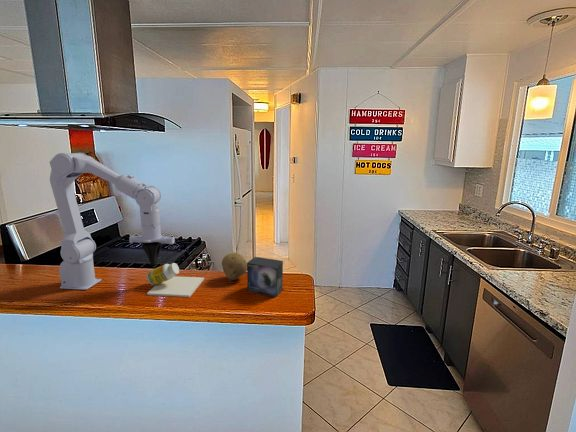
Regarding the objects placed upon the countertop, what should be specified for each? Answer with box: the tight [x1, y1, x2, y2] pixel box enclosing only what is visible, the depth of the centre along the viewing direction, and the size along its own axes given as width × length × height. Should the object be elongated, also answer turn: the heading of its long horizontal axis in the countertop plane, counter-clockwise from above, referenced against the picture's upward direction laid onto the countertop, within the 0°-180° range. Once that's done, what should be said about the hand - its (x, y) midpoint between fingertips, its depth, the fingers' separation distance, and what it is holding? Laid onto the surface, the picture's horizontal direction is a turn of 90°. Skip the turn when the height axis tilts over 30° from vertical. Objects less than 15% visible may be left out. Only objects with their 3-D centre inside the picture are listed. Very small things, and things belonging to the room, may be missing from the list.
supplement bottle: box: [146, 262, 180, 286], centre depth 108 cm, size 5×5×10 cm
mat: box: [146, 275, 205, 298], centre depth 109 cm, size 14×14×1 cm
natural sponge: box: [221, 252, 248, 281], centre depth 114 cm, size 9×9×10 cm
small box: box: [246, 256, 284, 298], centre depth 106 cm, size 11×6×10 cm, turn 70°
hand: (154, 263), depth 108 cm, fingers closed
